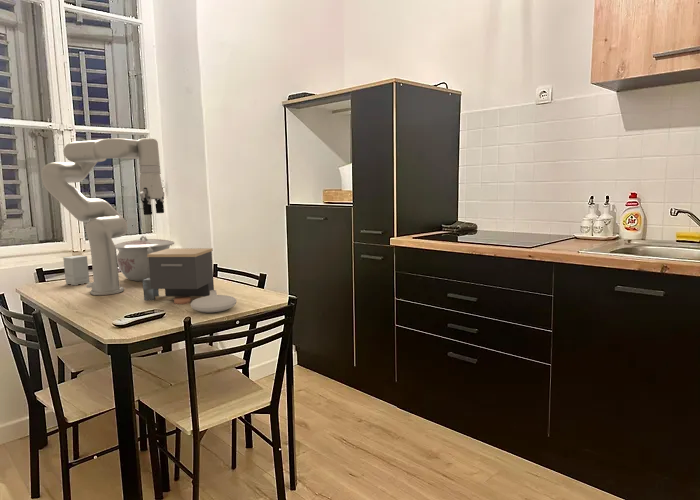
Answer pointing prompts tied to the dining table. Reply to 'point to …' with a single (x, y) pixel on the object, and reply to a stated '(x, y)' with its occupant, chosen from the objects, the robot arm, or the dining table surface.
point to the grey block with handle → (157, 293)
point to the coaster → (182, 300)
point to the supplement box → (76, 270)
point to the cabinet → (182, 271)
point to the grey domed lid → (213, 303)
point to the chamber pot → (138, 256)
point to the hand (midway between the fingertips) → (154, 213)
